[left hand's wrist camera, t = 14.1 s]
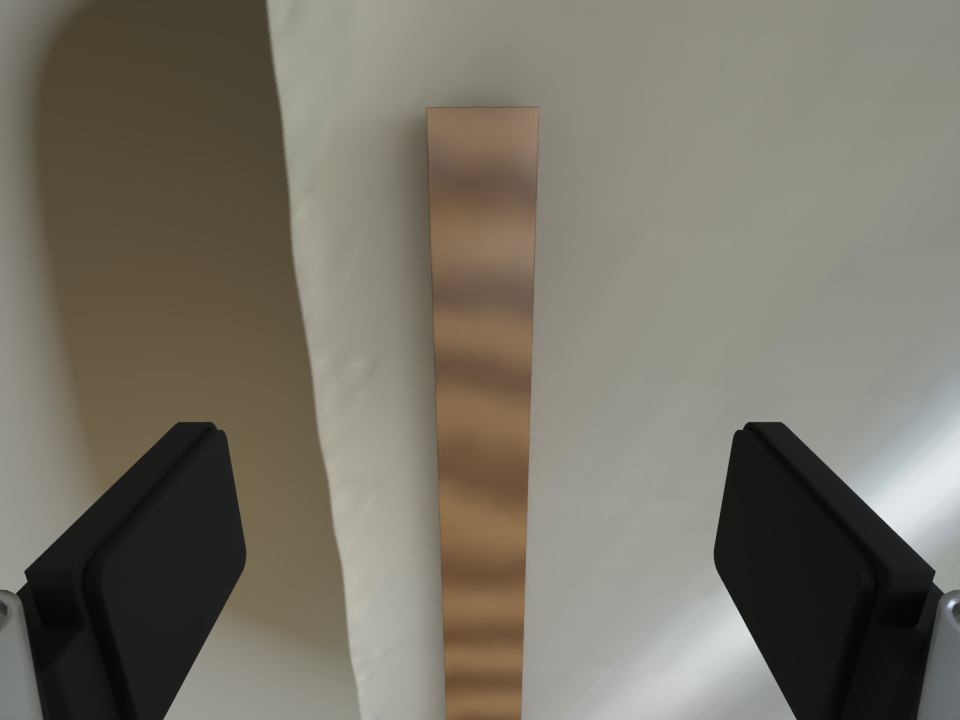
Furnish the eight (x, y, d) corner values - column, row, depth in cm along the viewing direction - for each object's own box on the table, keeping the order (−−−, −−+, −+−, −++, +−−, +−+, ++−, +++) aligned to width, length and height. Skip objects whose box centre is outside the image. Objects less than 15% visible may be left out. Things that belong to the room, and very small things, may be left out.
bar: (436, 111, 35) (425, 107, 28) (526, 111, 35) (539, 106, 28) (455, 804, 58) (452, 902, 50) (511, 804, 58) (515, 902, 50)
